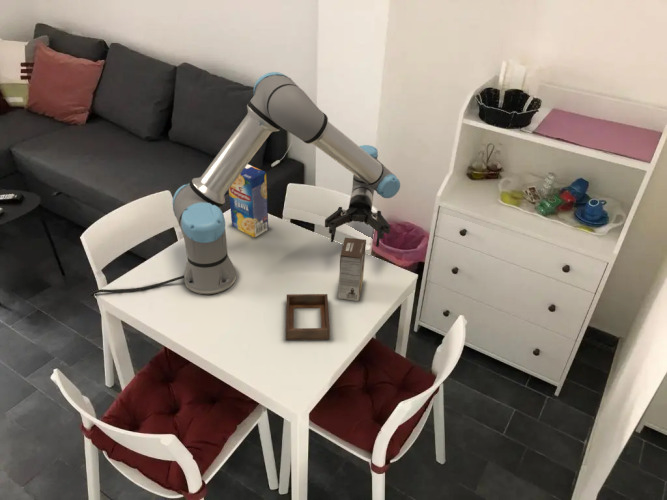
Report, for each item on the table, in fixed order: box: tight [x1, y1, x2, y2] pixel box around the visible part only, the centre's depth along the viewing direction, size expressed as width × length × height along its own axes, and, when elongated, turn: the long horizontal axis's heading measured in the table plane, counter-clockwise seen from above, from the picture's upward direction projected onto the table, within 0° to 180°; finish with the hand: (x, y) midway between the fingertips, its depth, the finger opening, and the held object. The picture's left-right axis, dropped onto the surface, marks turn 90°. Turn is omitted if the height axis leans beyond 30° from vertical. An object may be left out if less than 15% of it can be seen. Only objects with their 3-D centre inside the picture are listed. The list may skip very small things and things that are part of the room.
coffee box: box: [337, 237, 367, 302], centre depth 157 cm, size 9×6×16 cm
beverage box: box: [228, 163, 269, 238], centre depth 181 cm, size 7×11×22 cm, turn 52°
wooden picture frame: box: [285, 293, 331, 341], centre depth 149 cm, size 12×15×4 cm
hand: (354, 240), depth 161 cm, fingers open, 13 cm apart
